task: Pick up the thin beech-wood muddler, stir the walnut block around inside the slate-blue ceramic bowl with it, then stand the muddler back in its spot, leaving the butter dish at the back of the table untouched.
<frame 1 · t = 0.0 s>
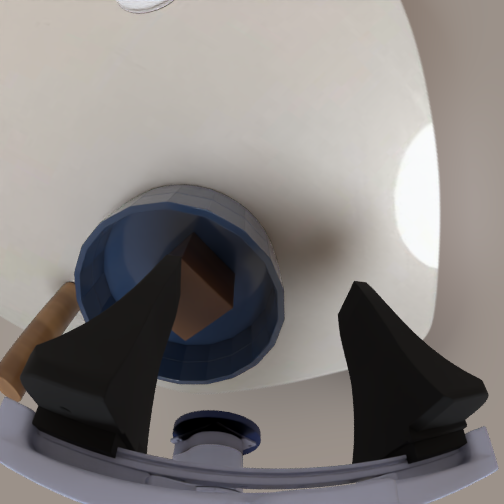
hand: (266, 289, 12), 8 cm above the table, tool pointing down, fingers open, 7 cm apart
block: (193, 270, 20), point 1 cm above the table, touching bowl
bowl: (185, 274, 21), on the table
muddler: (73, 294, 21), on the table
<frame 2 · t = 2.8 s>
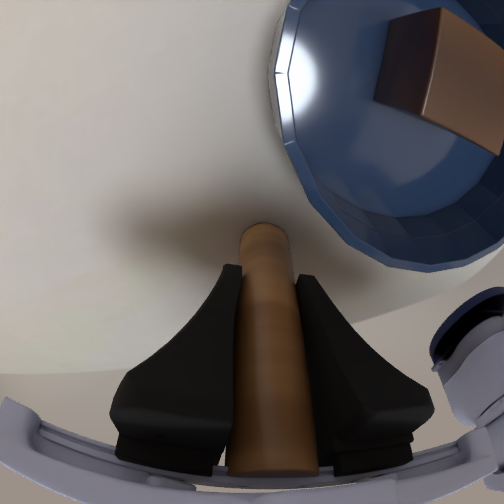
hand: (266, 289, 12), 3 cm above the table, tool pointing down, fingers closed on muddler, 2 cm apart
block: (421, 75, 9), point 1 cm above the table, touching bowl
bowl: (410, 93, 10), on the table
muddler: (264, 243, 15), on the table, touching gripper
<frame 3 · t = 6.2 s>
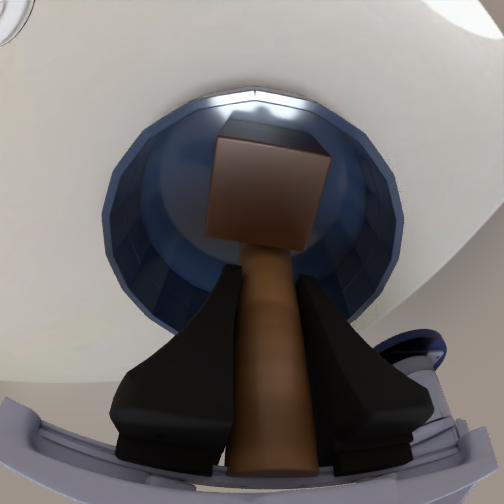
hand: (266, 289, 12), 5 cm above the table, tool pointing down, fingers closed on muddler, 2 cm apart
block: (262, 165, 14), point 1 cm above the table, touching bowl
bowl: (252, 208, 16), on the table
muddler: (264, 243, 15), point 2 cm above the table, touching gripper
chess piece: (10, 11, 8), on the table
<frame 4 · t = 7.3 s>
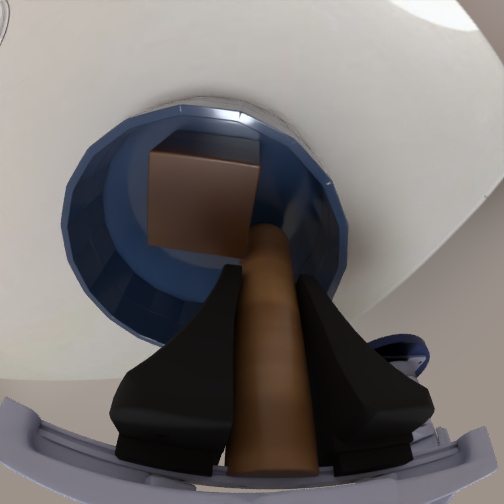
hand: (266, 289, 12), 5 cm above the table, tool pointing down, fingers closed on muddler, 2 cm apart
block: (212, 173, 14), point 1 cm above the table, touching bowl
bowl: (208, 215, 16), on the table
muddler: (264, 244, 15), point 2 cm above the table, touching gripper
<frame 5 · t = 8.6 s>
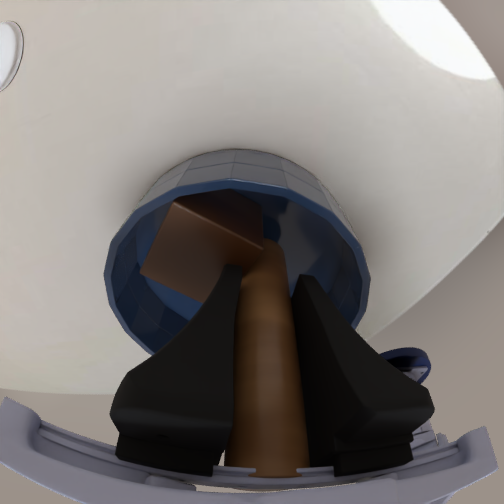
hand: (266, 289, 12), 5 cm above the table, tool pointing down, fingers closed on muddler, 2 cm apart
block: (209, 217, 15), point 1 cm above the table, touching bowl, muddler
bowl: (238, 256, 18), on the table
muddler: (261, 257, 15), point 2 cm above the table, touching block, gripper
chess piece: (0, 56, 10), on the table
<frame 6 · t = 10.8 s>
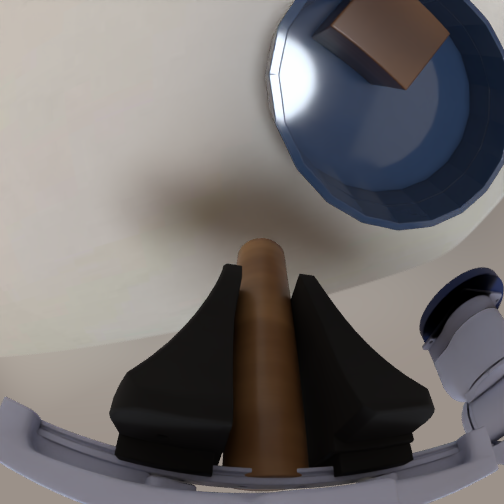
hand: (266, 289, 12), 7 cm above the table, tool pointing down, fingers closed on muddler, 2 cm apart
block: (363, 35, 11), point 1 cm above the table, touching bowl
bowl: (382, 88, 13), on the table
muddler: (261, 257, 15), point 3 cm above the table, touching gripper
when the fingers open (3 cm above the table, at t = 11.9 s): muddler stays where it is, on the table.
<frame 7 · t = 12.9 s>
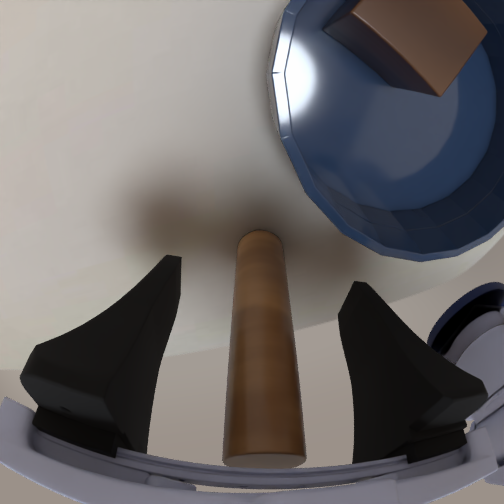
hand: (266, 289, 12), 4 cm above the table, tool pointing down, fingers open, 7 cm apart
block: (382, 29, 9), point 1 cm above the table, touching bowl
bowl: (403, 91, 11), on the table
muddler: (260, 249, 16), on the table
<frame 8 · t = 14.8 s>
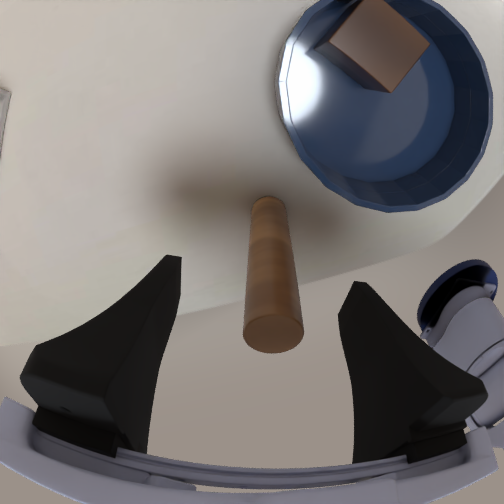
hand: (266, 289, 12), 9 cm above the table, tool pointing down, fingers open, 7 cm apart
block: (358, 46, 13), point 1 cm above the table, touching bowl
bowl: (375, 92, 15), on the table
muddler: (268, 212, 21), on the table
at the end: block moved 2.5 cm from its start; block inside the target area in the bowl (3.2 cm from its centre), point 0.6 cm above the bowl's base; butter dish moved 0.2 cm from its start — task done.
